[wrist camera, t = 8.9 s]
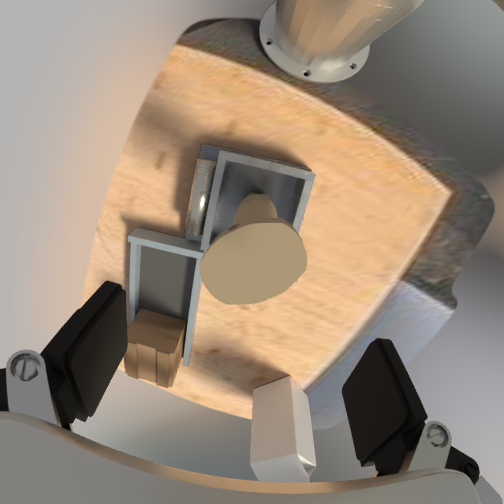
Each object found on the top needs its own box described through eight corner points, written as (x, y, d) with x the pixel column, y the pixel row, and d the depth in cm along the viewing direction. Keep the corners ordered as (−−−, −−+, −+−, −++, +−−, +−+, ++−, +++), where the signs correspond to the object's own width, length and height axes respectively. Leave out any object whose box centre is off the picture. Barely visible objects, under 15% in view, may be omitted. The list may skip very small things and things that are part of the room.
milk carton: (252, 388, 43) (248, 487, 26) (290, 374, 42) (298, 478, 24) (272, 407, 46) (274, 497, 28) (307, 395, 44) (318, 488, 27)
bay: (137, 227, 33) (127, 235, 30) (208, 243, 34) (203, 253, 31) (135, 342, 41) (129, 354, 38) (190, 358, 41) (186, 371, 38)
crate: (140, 308, 37) (120, 339, 30) (186, 320, 37) (173, 355, 31) (140, 342, 40) (124, 374, 33) (182, 354, 40) (171, 388, 33)
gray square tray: (204, 144, 29) (196, 144, 25) (309, 168, 30) (316, 172, 26) (187, 234, 33) (178, 246, 29) (284, 256, 34) (286, 270, 30)
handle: (220, 199, 30) (185, 255, 16) (273, 172, 29) (284, 206, 15) (241, 236, 31) (225, 316, 18) (292, 212, 30) (318, 276, 16)
